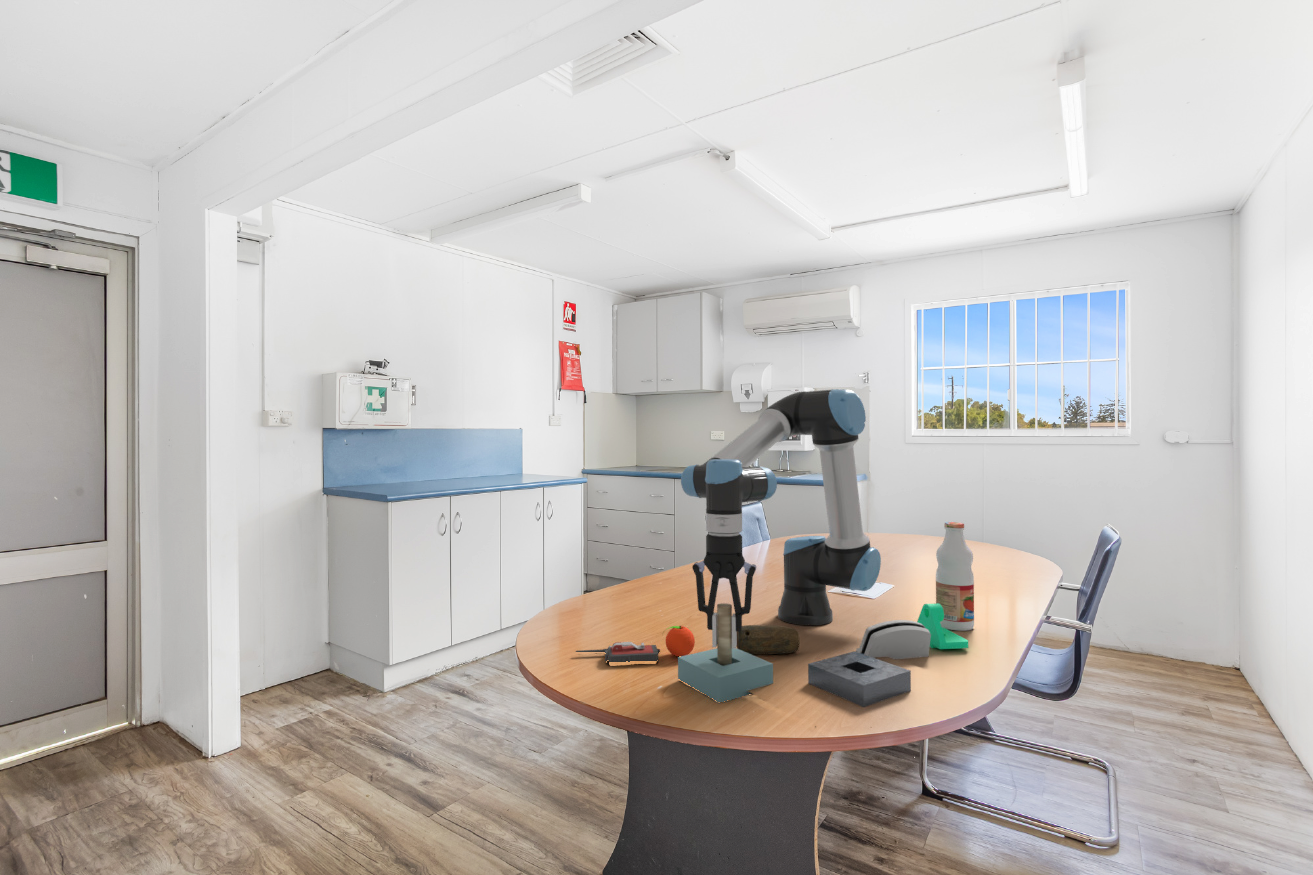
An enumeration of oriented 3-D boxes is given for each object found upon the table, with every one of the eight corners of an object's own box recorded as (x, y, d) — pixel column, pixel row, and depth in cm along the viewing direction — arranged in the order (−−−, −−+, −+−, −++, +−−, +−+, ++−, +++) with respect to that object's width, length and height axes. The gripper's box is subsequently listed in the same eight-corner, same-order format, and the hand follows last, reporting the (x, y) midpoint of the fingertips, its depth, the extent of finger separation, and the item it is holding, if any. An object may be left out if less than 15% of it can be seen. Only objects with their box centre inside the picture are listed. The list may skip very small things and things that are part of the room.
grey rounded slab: (916, 649, 156) (924, 614, 153) (927, 662, 152) (937, 626, 148) (853, 654, 152) (860, 618, 149) (863, 668, 148) (871, 631, 145)
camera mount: (970, 652, 154) (970, 609, 154) (940, 653, 153) (939, 610, 153) (942, 637, 166) (942, 597, 166) (914, 638, 165) (914, 598, 165)
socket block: (678, 680, 136) (677, 657, 136) (729, 667, 144) (729, 645, 144) (719, 703, 125) (719, 677, 125) (773, 687, 132) (772, 663, 132)
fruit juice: (935, 620, 181) (934, 520, 181) (972, 623, 178) (972, 521, 178) (936, 629, 172) (936, 524, 172) (975, 633, 169) (975, 526, 169)
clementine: (657, 658, 150) (657, 628, 150) (666, 649, 157) (666, 620, 157) (689, 662, 148) (689, 631, 148) (698, 653, 154) (698, 623, 154)
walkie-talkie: (658, 653, 155) (575, 657, 153) (658, 634, 155) (575, 638, 153) (663, 665, 147) (575, 670, 144) (663, 646, 147) (575, 650, 144)
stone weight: (739, 659, 150) (739, 630, 150) (733, 649, 157) (732, 622, 157) (802, 656, 151) (802, 628, 151) (793, 647, 158) (792, 620, 158)
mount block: (808, 688, 132) (808, 663, 132) (854, 674, 140) (854, 651, 140) (863, 712, 120) (863, 685, 120) (910, 695, 128) (910, 670, 128)
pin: (714, 666, 135) (714, 604, 135) (725, 664, 136) (725, 602, 136) (723, 671, 132) (723, 607, 132) (734, 668, 134) (734, 605, 134)
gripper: (682, 534, 132) (682, 649, 132) (762, 537, 129) (763, 654, 129) (688, 529, 140) (688, 637, 140) (764, 531, 136) (765, 642, 136)
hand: (724, 645), depth 134 cm, fingers open, 3 cm apart
